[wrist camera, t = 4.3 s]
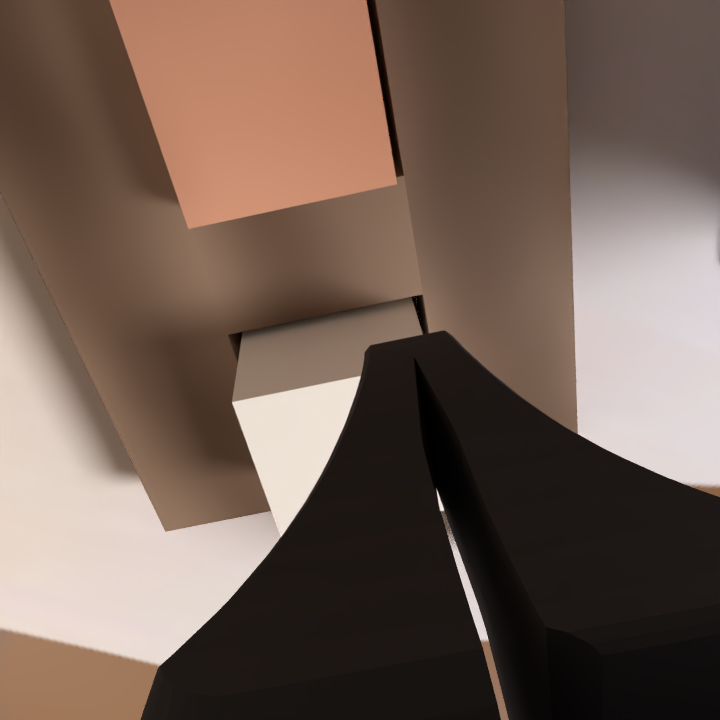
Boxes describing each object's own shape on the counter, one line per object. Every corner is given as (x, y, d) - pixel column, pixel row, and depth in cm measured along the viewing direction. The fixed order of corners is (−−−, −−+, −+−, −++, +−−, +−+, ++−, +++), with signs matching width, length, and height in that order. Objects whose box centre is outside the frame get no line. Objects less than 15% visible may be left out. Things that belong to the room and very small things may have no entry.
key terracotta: (344, -64, 17) (355, -66, 13) (380, 141, 19) (397, 184, 16) (146, -19, 17) (106, -8, 13) (208, 178, 19) (188, 228, 16)
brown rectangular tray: (486, -886, 11) (531, -1085, 9) (554, 406, 25) (578, 450, 22) (-336, -660, 11) (-481, -795, 9) (177, 481, 25) (165, 531, 23)
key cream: (409, 290, 20) (431, 361, 17) (432, 423, 23) (454, 508, 19) (243, 324, 20) (231, 402, 17) (285, 452, 23) (282, 542, 19)
